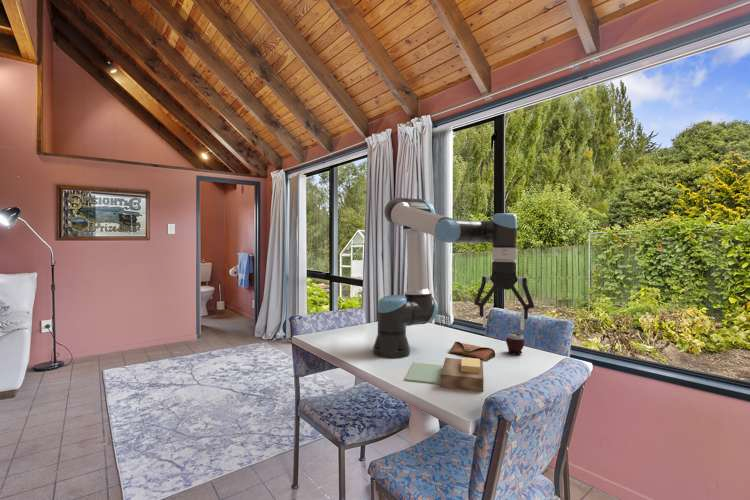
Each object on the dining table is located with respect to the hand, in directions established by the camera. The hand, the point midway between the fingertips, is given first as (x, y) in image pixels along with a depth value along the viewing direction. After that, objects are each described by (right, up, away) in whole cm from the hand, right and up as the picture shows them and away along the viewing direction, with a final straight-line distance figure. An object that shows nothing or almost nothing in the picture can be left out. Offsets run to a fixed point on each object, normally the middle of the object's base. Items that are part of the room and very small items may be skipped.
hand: (502, 327), depth 123 cm
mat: (-24, -18, +9) cm, 31 cm away
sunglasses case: (-3, -18, +31) cm, 36 cm away
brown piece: (-12, -18, +4) cm, 22 cm away
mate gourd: (+17, -18, +34) cm, 42 cm away
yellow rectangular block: (-10, -14, +3) cm, 17 cm away
